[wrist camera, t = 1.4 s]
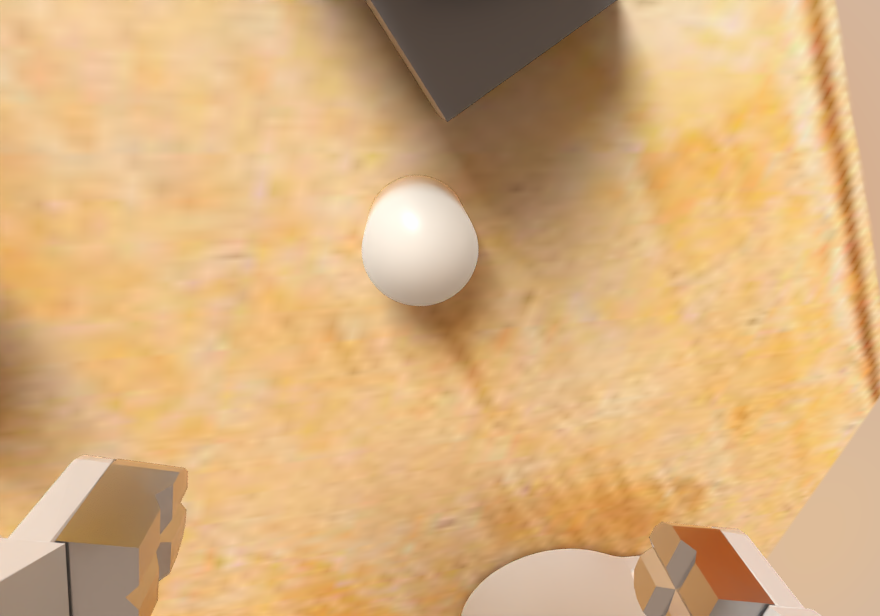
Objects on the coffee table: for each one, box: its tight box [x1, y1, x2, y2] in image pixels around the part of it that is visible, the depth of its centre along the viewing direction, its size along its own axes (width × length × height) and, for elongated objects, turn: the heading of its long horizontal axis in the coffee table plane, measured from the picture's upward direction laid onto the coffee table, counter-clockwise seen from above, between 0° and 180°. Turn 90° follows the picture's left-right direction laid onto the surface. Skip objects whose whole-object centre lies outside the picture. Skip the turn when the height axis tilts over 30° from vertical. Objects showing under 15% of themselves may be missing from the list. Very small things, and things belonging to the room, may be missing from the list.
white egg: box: [362, 175, 478, 306], centre depth 26 cm, size 5×5×5 cm
